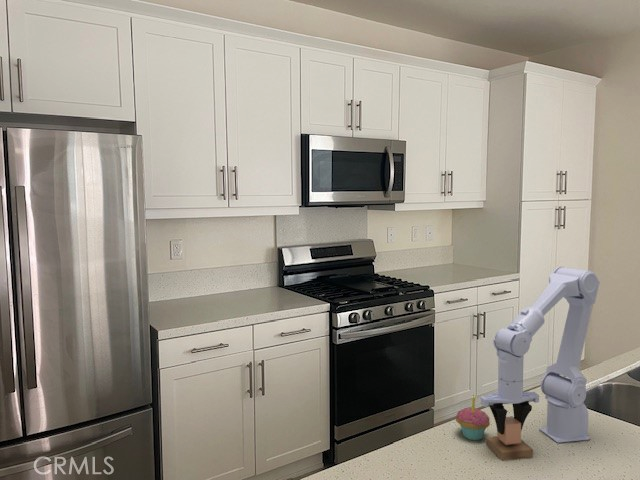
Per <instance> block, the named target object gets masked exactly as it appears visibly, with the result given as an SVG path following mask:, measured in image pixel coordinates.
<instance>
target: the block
mask: <svg viewBox="0 0 640 480" xmlns="http://www.w3.org/2000/svg"><path fill="white" fill-rule="evenodd" d="M496 431H497V430H496ZM496 436H497V437H498V438H499V439H500V440H501V441H502V442H503V443H504V444H505V445H509V444H516V443H521V440H522V431H521V423H520V422H519V421H518V420H516V419H515V418H514V416H512V415H510V416H506V419H505V430H504V434H500V433H499V432H498V431H497V433H496Z"/></svg>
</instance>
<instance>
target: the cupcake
mask: <svg viewBox="0 0 640 480" xmlns="http://www.w3.org/2000/svg"><path fill="white" fill-rule="evenodd" d="M475 401H476V397H475V394H473V395H472V397H471V406H469V407H464V408H463V409H461V410H459V411H457V413H456V414H455V421H456V422H457V423H458V424H459V425H460V428H461V430H462V434H463V437H465V438H466V439H468V440H473V441H474V440H475V441H477V440H478V441H479V440H481V439H482V438H483V436H484V433H485V431H486V429H487V428H488V427H489V426H490V422H491V421H490V417H489V415H488V414H487V413H486V412H485V411H483V410H481V409H479V408H476V407H475V404H476V402H475Z"/></svg>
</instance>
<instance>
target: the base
mask: <svg viewBox="0 0 640 480" xmlns="http://www.w3.org/2000/svg"><path fill="white" fill-rule="evenodd" d="M485 446H487V447H488V448H489V449H490V450H491V452H493V453H494V454H495V455H496V456H497V457H498V458H499V459H500V460H501V461H512V460H521V459H522V460H523V459H530V458H534V449H533V448H532V447H531V446H530V445H529V444H527V443H526V442H525V441H524V440H522V439H521V443H516V444H509V445H505V444H504V443H503V442H502V441H501V440H500V439H499V438H498V437H497V435H495V436H493V435H492V436H485Z"/></svg>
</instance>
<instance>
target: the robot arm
mask: <svg viewBox="0 0 640 480" xmlns="http://www.w3.org/2000/svg"><path fill="white" fill-rule="evenodd" d="M599 286H600V281H599V279H598V276H597V274H596V273H595V272H594V271H592V270H584V269H578V268H569V267H564V266H558V267H556V268H555V269H553V271H552V273H550V274H549V277H548V284H547V286H546V287H545V288H544V290H543V292H541V294H540V296H539V297H538V298H537V300H536V301H535V302H534V304H533V305H532V306H526V307H524V308H522V309H521V310H520V312H519V313H518V315H517V316H516V317H515V318H514V319H513V320H512V322H511V323H509V324H508V326H507V327H503V328H501V329H499V330H498V331H497V332H496V333H495V336H494V339H493V340H492V343H493V346H494V348H495V350H496V356H497V358H498V365H497V366H498V368H497V369H498V370H497V371H498V372H497V392H495V393H491V394H487V395H482V396H481V395H480V404H481V406H482V407H484V408H488V407H489V408H490V411H491V412H492V416H493V419H494V422H495V426H496V431H498V432H499V433H500V434H504V430H505V419H506V417H507V414H508V410H507V409H506V408H505V406H504V405H510V404H512V410H513V417H514V418H515V419H516V420H518V421H519V422H520V423H521V432H522V431H523V426H524V424H525V422H526V419H527V418H528V416H529V414H530V413H531V411H532V409H533V406H532V404H530V403H532V402H534V403H540V394H538V393H537V392H536V391H523V390H524V389H523V388H524V361H525V360H524V359H525V357H524V355H526V354H527V353H528V351H529V349H530V346H531V343H532V341H533V336H534V335H535V334H536V333H537V332H538V331H539V330H540V329H541V328H542V327H543V325H544V324H545V320H546V319H545V316H546V314H548V312H549V311H551V310H552V309H553V308H554V307H555V306H556V305H557V304H558V303H559V302H560V301H561V300H562V299H565V300H566V301H567V303H568V304H569V307H568V311H567V315H566V319H565V323H564V328H563V332H562V337H561V341H560V345H559V349H558V355H557V359H556V362H555V363H553V364H550V365H548V366H547V367H546V370H545V374H543V377H542V378H541V382H540V390H541V392H542V394H544V398H545V400H546V401H547V402H546V403H547V404H546V405H547V406H546V407H547V408H546V409H547V410H546V426H542V427H539V430H540V431H541V432H542V433H544V434H545V435H546V436H547V437H549V438H550V439H552V440H553V441H554V442H555V443H559V444H560V443H569V442H577V441H578V442H579V441H587V440H590V439H591V437H590V436H588V435H589V411H588V407H587V406H586V405H585V403H584V401H586V397H587V386H586V385H587V381H588V380H587V378H586V376H585V375H584V374H583V372H582V371H581V370H580V364H581V360H582V356H583V351H584V346H585V342H586V337H587V333H588V330H589V324H590V320H591V317H592V316H591V315H592V311H593V307H594V304H596V299H597V295H598V291H599Z"/></svg>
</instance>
